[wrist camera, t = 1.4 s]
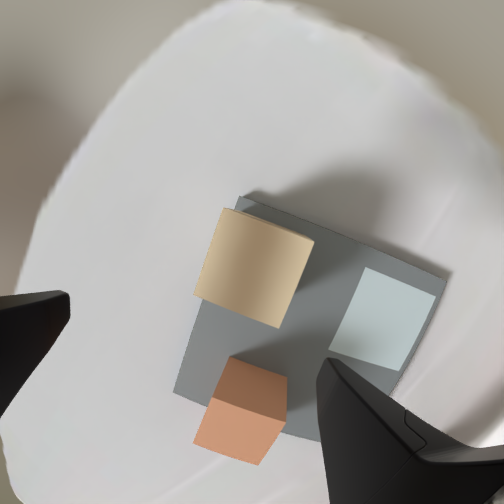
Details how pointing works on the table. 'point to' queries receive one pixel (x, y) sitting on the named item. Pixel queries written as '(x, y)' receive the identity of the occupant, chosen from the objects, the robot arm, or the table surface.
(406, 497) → the robot arm
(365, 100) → the table surface
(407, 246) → the table surface
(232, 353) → the board
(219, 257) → the maple block
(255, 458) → the terracotta block
